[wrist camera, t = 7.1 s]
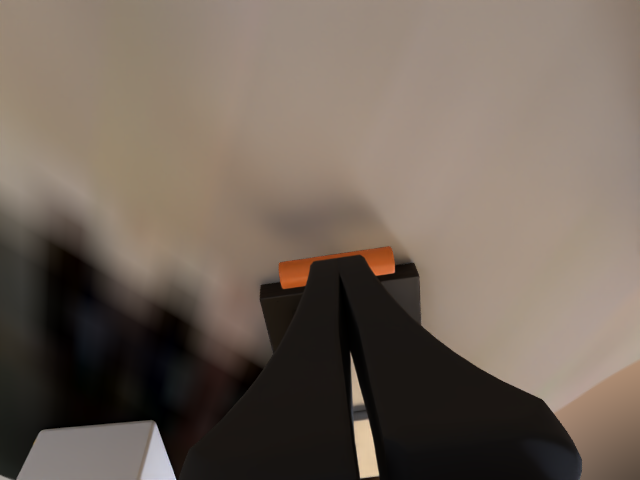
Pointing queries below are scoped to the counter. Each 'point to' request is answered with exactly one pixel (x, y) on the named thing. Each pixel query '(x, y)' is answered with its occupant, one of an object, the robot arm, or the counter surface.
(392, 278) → the switch bracket
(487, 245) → the counter surface
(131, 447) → the medicine bottle
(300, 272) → the switch lever
